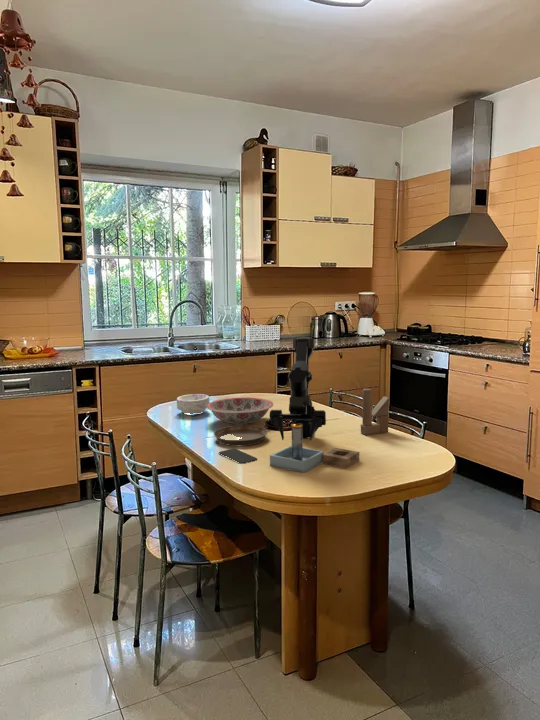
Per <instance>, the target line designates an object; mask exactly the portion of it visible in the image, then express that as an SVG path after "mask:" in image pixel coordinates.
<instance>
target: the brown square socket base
mask: <svg viewBox="0 0 540 720" xmlns="http://www.w3.org/2000/svg"><path fill="white" fill-rule="evenodd" d="M357 462H360V451H355V450H350V449H345V448H339V447H334V448H332V449H330V450H329V451H327V452H324V454H323V462H322V464H325V465H330V466H334V467H339V468H344V469H349V468H350V467H351V466H353V465H355V464H356V463H357Z"/></svg>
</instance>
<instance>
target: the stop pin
mask: <svg viewBox="0 0 540 720" xmlns="http://www.w3.org/2000/svg"><path fill="white" fill-rule="evenodd" d="M290 427H291V445H292V459H295V460H300V461H303V448H304V446H303V445H304V443H303V439H304V438H303V424H301V423H295V422H294V423H291V424H290Z"/></svg>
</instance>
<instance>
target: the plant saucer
mask: <svg viewBox="0 0 540 720" xmlns="http://www.w3.org/2000/svg"><path fill="white" fill-rule="evenodd" d="M227 434H231V435H232V434H233V435H234V436H236V437H240V438H241V437H242V439H239V440H225V439H221V438H220V437H221V436H224V435H227ZM213 435H214V438H215V439H216V440H217V441H218V442H220V443H221V444H223V443H224V444H223V445H226V444H229V445H228V446H231V445H246V446H251V444H252V445H255V443H256V444H258V442H259V443H261V442H262V441H263V440H264V439H265V438H266V436H267V435H268V430H267V429H266V428H264V427H262V426H258V425H254V424H253V425H251V424H235V425H231V426H230V425H229V426H226V427H225V426H224V427H221V428H219V429H217V430H216V431H214V434H213Z"/></svg>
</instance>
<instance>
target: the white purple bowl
mask: <svg viewBox="0 0 540 720" xmlns="http://www.w3.org/2000/svg"><path fill="white" fill-rule="evenodd" d="M208 403H210V396H209V395H208V394H203V393H194V394H193V393H191V394H183V395H181V396H177V398H176V409H177V410H179V411H181V413H182V412H183V413H190V414H193V413H201V412H204V411H205V412H206V410H207V407H206V406H207V404H208ZM205 412H204V413H205ZM183 413H182V414H183Z"/></svg>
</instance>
